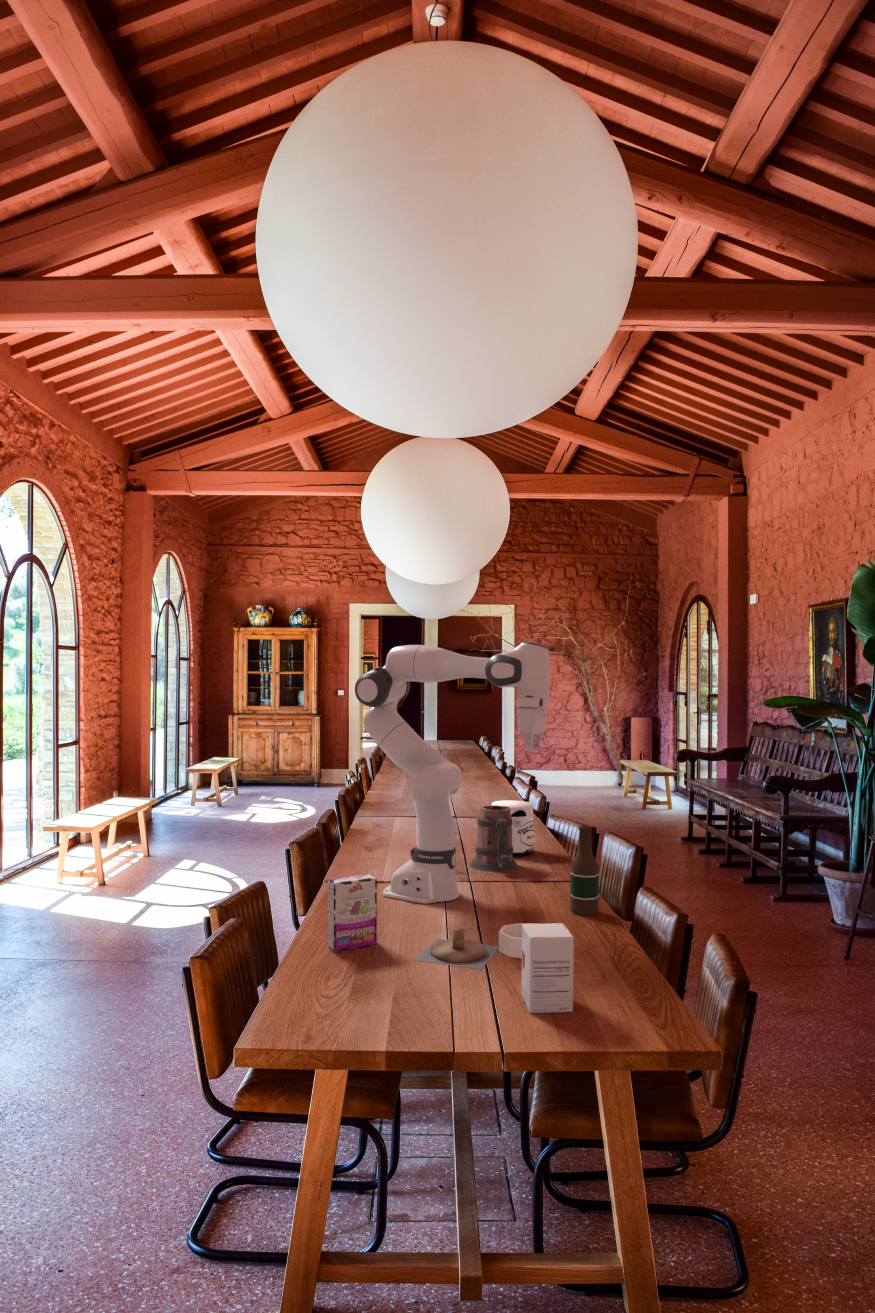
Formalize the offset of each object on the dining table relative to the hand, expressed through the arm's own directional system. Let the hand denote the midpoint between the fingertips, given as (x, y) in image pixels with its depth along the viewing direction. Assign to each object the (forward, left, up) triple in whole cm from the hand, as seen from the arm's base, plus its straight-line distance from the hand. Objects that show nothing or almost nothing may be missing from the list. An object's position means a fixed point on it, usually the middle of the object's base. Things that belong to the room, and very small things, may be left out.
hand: (532, 749), depth 230 cm
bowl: (+6, -33, -45) cm, 56 cm away
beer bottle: (+14, +5, -45) cm, 47 cm away
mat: (-8, -41, -45) cm, 62 cm away
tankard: (-22, +45, -45) cm, 67 cm away
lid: (-8, -41, -44) cm, 61 cm away
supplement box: (+17, -61, -45) cm, 78 cm away
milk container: (-23, +70, -45) cm, 86 cm away
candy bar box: (-34, -44, -45) cm, 72 cm away
